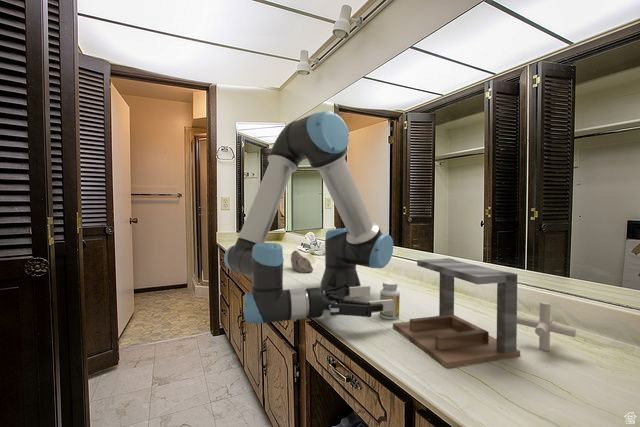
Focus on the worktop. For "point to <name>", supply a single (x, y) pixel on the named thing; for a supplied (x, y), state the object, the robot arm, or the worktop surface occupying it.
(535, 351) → the worktop surface
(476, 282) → the keeper holder
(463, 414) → the worktop surface
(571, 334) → the pipe connector
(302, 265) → the pumice stone
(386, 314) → the supplement bottle
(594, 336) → the worktop surface
